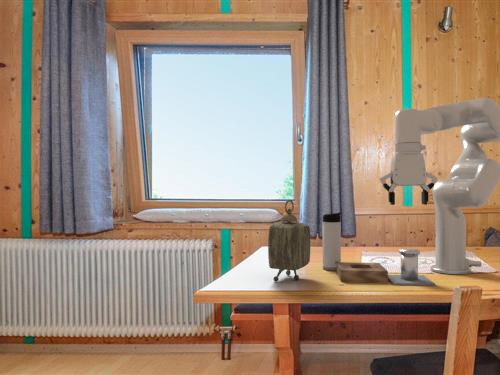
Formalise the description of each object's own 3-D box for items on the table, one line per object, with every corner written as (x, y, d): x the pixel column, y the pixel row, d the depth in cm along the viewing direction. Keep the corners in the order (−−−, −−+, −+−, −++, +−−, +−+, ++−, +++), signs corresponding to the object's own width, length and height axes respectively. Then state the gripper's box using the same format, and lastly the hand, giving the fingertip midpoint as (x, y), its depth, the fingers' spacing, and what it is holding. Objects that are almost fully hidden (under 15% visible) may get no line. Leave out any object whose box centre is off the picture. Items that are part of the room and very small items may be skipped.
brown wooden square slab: (379, 273, 146) (379, 262, 146) (387, 282, 133) (387, 271, 133) (336, 272, 148) (336, 262, 148) (340, 281, 134) (340, 270, 134)
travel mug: (341, 271, 150) (341, 213, 150) (322, 270, 152) (322, 212, 151) (341, 267, 156) (341, 211, 156) (322, 267, 158) (322, 211, 158)
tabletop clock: (285, 273, 146) (285, 198, 146) (311, 276, 142) (311, 199, 142) (268, 282, 133) (268, 200, 133) (296, 285, 129) (296, 200, 129)
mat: (423, 277, 140) (423, 275, 140) (435, 285, 128) (435, 283, 128) (385, 276, 141) (385, 274, 141) (393, 285, 129) (393, 282, 129)
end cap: (416, 277, 137) (416, 248, 137) (422, 281, 132) (422, 251, 131) (397, 276, 138) (397, 248, 138) (401, 280, 132) (401, 251, 132)
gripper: (432, 149, 139) (432, 203, 139) (376, 150, 140) (377, 204, 141) (440, 148, 131) (441, 205, 132) (382, 149, 133) (382, 205, 133)
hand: (408, 204), depth 136 cm, fingers open, 9 cm apart
